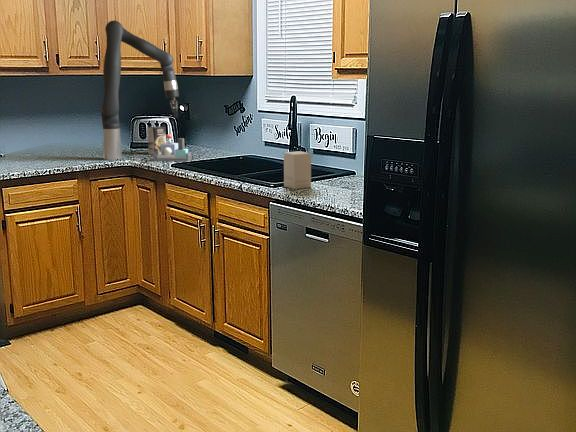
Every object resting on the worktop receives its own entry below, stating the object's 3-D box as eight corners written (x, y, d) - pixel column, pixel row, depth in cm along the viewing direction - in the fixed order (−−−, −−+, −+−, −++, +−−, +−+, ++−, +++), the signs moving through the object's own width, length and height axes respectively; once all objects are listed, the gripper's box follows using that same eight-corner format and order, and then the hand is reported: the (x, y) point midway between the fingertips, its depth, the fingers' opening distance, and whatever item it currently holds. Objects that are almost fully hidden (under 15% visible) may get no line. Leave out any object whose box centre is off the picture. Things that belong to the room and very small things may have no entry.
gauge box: (161, 158, 362) (160, 144, 360) (165, 156, 369) (164, 142, 368) (174, 158, 361) (174, 144, 359) (178, 156, 368) (178, 142, 366)
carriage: (175, 157, 351) (174, 139, 349) (178, 156, 356) (177, 138, 353) (185, 158, 350) (185, 139, 348) (188, 156, 355) (187, 138, 353)
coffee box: (155, 155, 374) (154, 127, 370) (148, 154, 378) (146, 127, 374) (167, 153, 381) (165, 126, 378) (159, 152, 385) (158, 126, 381)
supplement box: (311, 187, 275) (312, 153, 272) (294, 189, 271) (294, 154, 267) (300, 184, 283) (300, 150, 279) (283, 186, 279) (283, 152, 275)
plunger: (165, 144, 362) (165, 134, 361) (167, 144, 366) (167, 134, 364) (171, 144, 362) (170, 134, 361) (173, 144, 365) (172, 134, 364)
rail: (153, 160, 353) (153, 152, 352) (157, 159, 358) (156, 151, 357) (188, 161, 350) (187, 153, 349) (191, 159, 356) (191, 151, 355)
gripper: (165, 88, 368) (170, 116, 372) (164, 90, 354) (169, 119, 358) (178, 87, 368) (182, 115, 373) (177, 88, 355) (182, 117, 359)
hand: (176, 117), depth 366 cm, fingers open, 8 cm apart
